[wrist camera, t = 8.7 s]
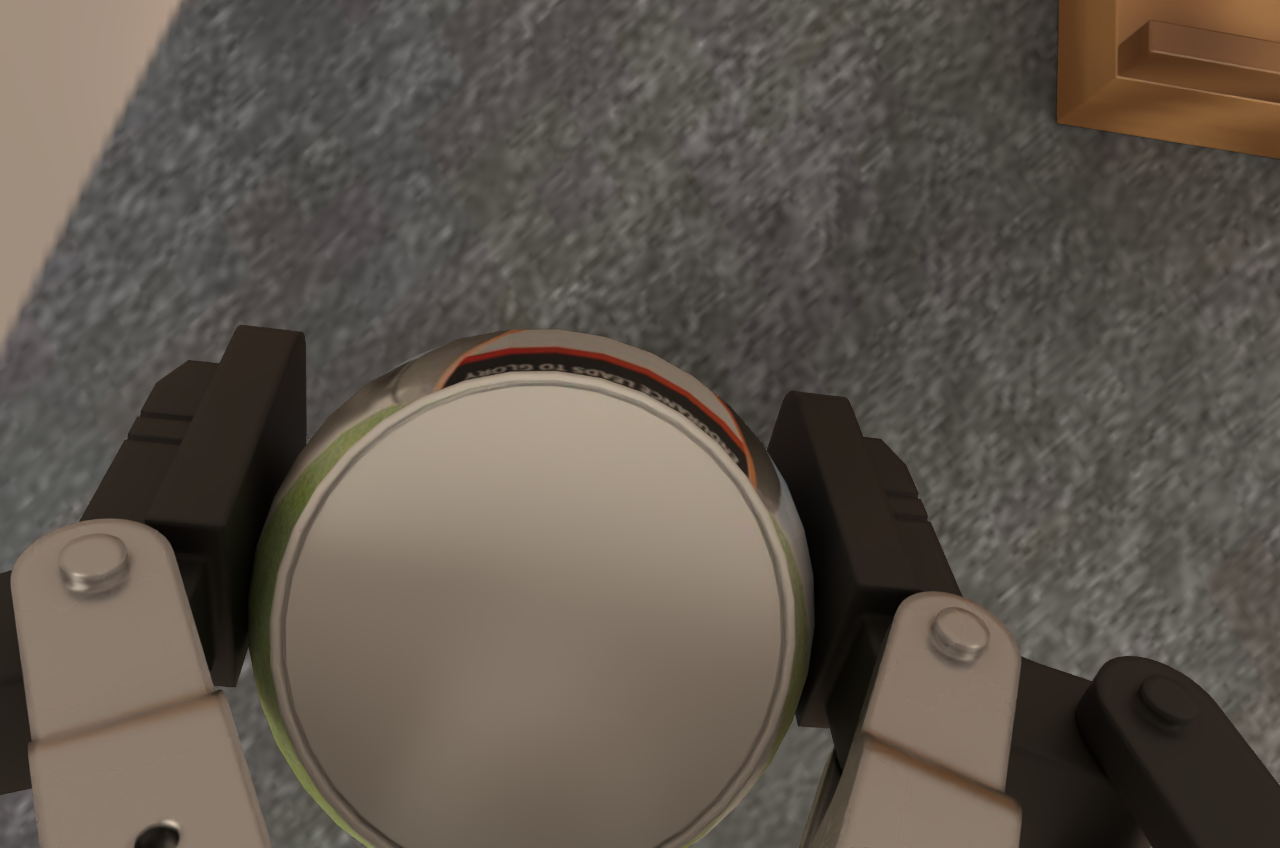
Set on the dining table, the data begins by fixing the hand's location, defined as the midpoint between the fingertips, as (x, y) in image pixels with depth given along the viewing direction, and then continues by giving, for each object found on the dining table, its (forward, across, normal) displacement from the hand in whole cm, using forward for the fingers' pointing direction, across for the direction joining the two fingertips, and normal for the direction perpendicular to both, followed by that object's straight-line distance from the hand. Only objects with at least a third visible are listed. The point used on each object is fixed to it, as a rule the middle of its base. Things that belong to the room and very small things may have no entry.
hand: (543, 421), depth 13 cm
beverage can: (+5, 0, +7) cm, 9 cm away
